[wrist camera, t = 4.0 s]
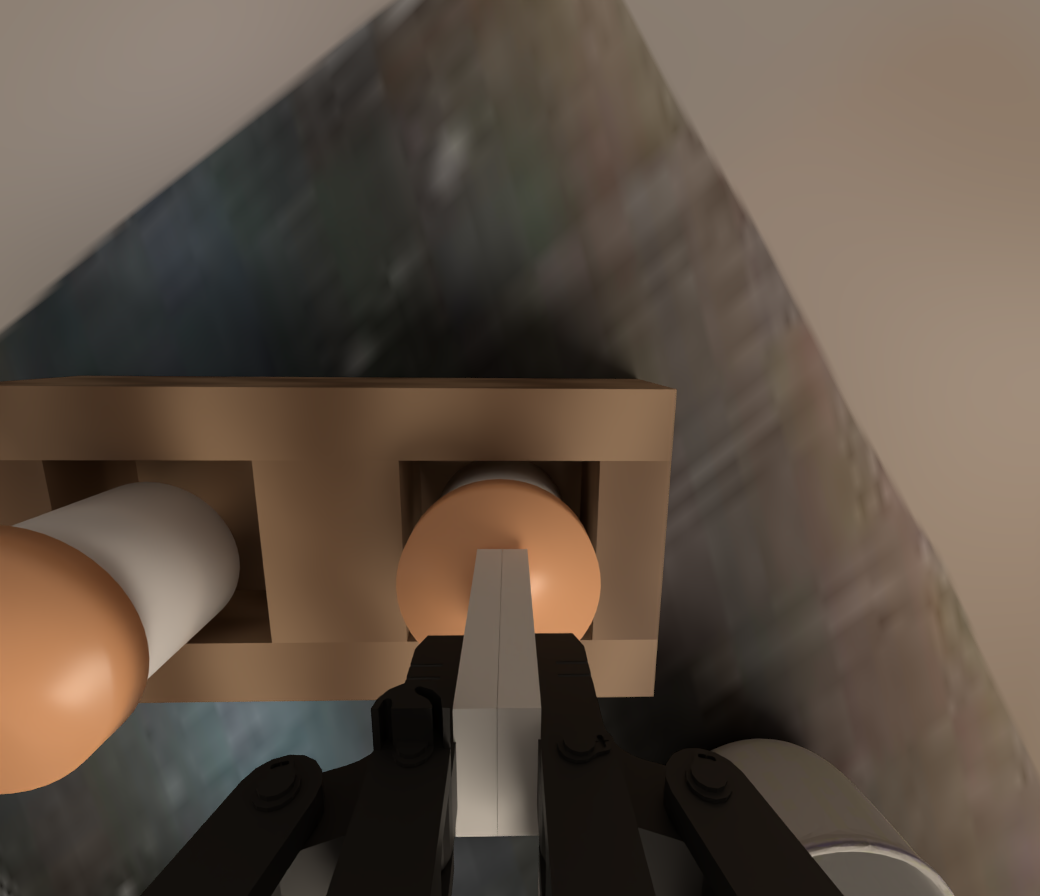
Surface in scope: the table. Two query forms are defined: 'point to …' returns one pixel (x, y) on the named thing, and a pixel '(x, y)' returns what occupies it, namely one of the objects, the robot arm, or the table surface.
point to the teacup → (834, 821)
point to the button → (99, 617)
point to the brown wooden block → (349, 505)
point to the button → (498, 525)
